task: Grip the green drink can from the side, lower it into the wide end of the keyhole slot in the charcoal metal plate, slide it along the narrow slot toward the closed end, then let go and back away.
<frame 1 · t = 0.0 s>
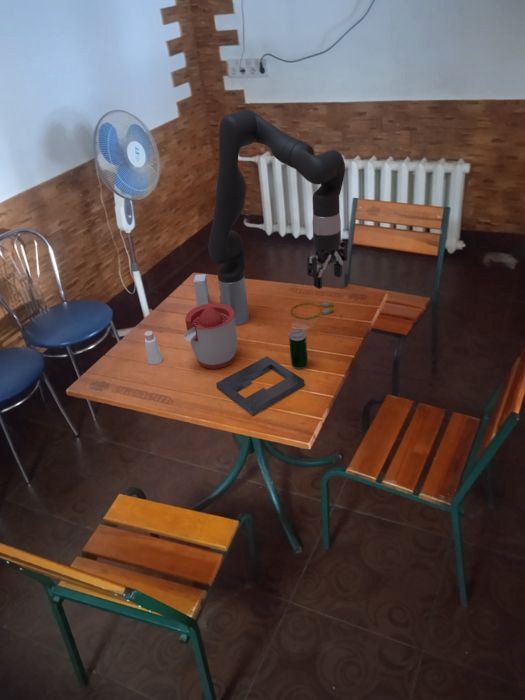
hand: (328, 282, 160), 29 cm above the table, tool pointing down, fingers open, 8 cm apart
citrus juicer: (215, 360, 185), on the table
keyhole plate: (260, 386, 170), on the table
extension cord: (312, 313, 205), on the table
green drink can: (299, 365, 178), on the table
pepper shaker: (155, 360, 188), on the table
skincare box: (204, 305, 216), on the table
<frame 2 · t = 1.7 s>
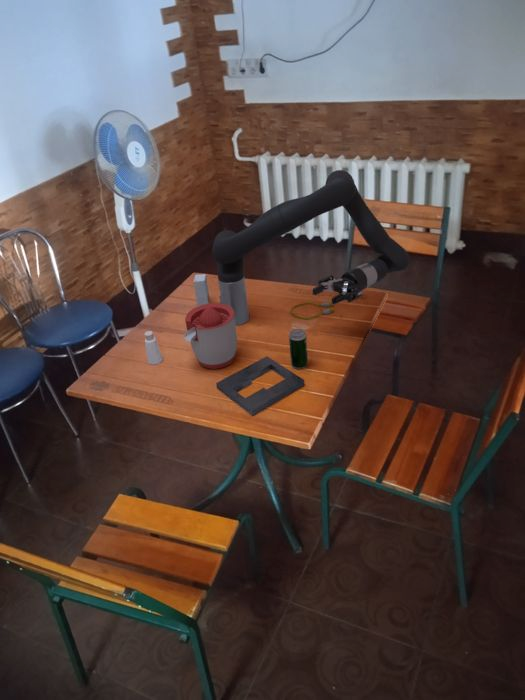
hand: (322, 296, 172), 20 cm above the table, tool horizontal, fingers open, 8 cm apart
nothing on the table moved.
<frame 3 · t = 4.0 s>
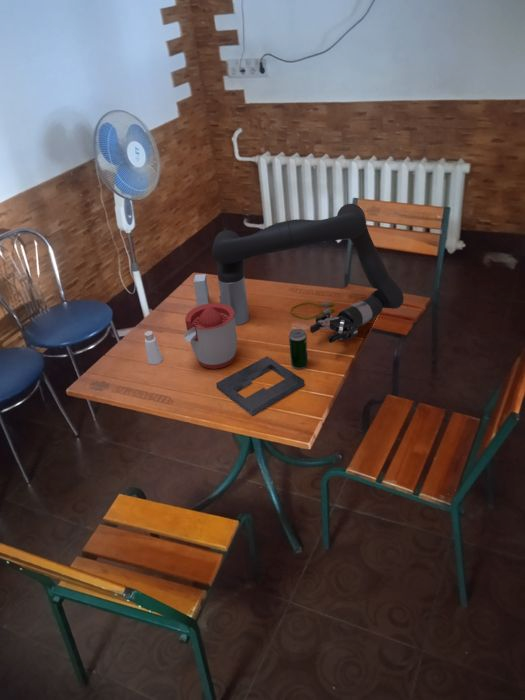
hand: (319, 335, 179), 7 cm above the table, tool horizontal, fingers open, 8 cm apart
nothing on the table moved.
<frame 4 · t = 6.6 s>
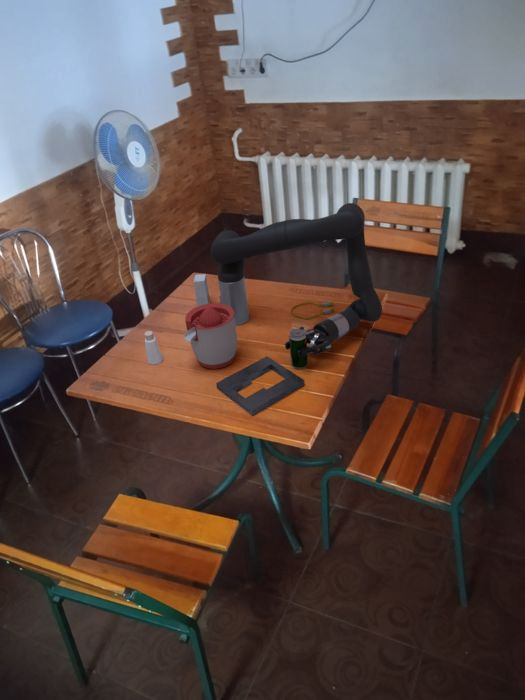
hand: (292, 350, 173), 7 cm above the table, tool horizontal, fingers closed on green drink can, 5 cm apart
green drink can: (299, 365, 178), on the table, touching gripper
everything else where it was.
when the fingers open (7 cm above the table, at t = 13.5 s): green drink can stays where it is, resting in keyhole plate.
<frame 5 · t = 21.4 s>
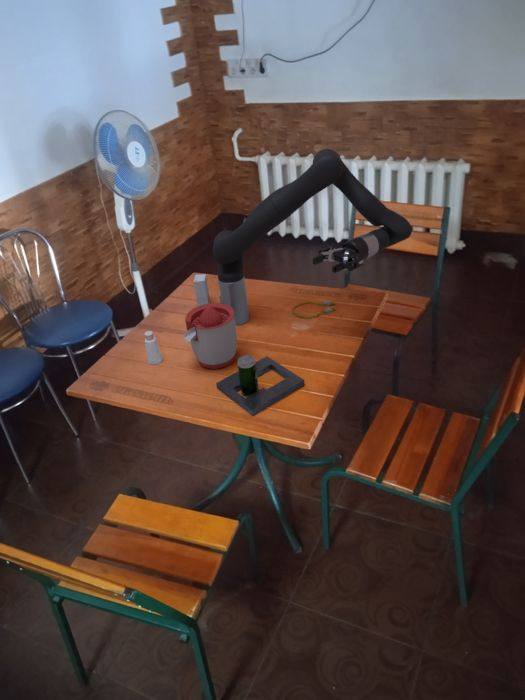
hand: (323, 265, 167), 30 cm above the table, tool horizontal, fingers open, 8 cm apart
green drink can: (250, 392, 169), resting in keyhole plate
everything else where it was.
at the end: green drink can 0.7 cm from the target spot on the keyhole plate, point 0.0 cm above the keyhole plate's base; green drink can tilted 0°; the gripper is holding nothing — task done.
